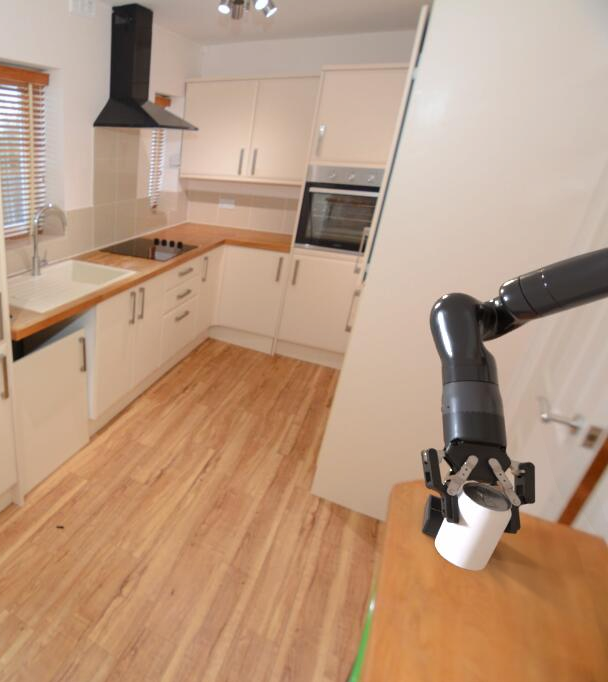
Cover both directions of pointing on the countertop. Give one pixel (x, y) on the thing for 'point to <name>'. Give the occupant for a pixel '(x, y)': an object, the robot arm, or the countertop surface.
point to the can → (474, 526)
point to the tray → (432, 516)
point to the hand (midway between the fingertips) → (481, 527)
